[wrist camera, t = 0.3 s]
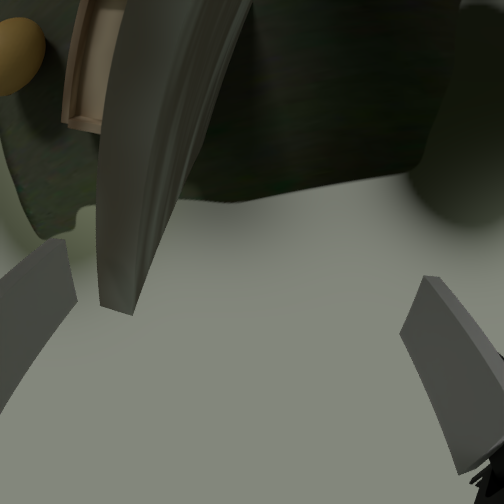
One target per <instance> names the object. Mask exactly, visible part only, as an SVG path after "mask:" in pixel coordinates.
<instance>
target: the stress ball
mask: <svg viewBox="0 0 504 504" xmlns="http://www.w3.org/2000/svg"><path fill="white" fill-rule="evenodd" d="M45 49H46V42H45V36H44V33H43V31H42V29H41V28H40V27H39V25H38V24H36V23H35V22H34V21H32V20H30V19H27V18H21V17H17V18H11V19H7V20H4V21H2V22H0V96H7V95H11V94H12V93H14V92H16V91H18V90H20V89H21V88H23V87H24V86H25V85H26V84H28V83H29V82H30V81H31V80H32V78H33V77H34V76H35V75H36V73H37V72H38V70H39V68H40V66H41V64H42V62H43V59H44V55H45Z"/></svg>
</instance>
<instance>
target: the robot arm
mask: <svg viewBox="0 0 504 504" xmlns="http://www.w3.org/2000/svg"><path fill="white" fill-rule="evenodd" d="M77 302H78V301H77V297H76V293H75V288H74V284H73V279H72V274H71V270H70V265H69V259H68V254H67V248H66V242H65V240H63V239H54V238H50V239H48V240H47V241H46V242H44V243H43V244H42V245H41V246H39V247H38V248H37V249H36V250H34V251H33V252H32V253H31V254H29V255H28V256H27V257H26V258H25V259H23V260H22V261H21V262H20V263H19V264H18V265H16V266H15V267H14V268H13V269H12V270H10V271H9V272H8V273H7V274H6V275H5V276H4V277H3V278H1V279H0V414H1V412H2V410H3V409H4V407H5V405H6V403H7V402H8V400H9V399H10V397H11V395H12V394H13V392H14V390H15V389H16V387H17V386H18V384H19V383H20V381H21V379H22V378H23V376H24V375H25V373H26V372H27V370H28V369H29V367H30V366H31V364H32V363H33V361H34V360H35V359H36V357H37V356H38V354H39V353H40V351H41V350H42V348H43V347H44V346H45V344H46V343H47V341H48V340H49V339H50V337H51V336H52V334H53V333H54V332H55V330H56V329H57V328H58V326H59V325H60V324H61V322H62V321H63V320H64V318H65V317H66V316H67V314H68V313H69V312H70V311H71V309H72V308H73V307H74V306H75V304H76V303H77ZM400 336H401V338H402V340H403V342H404V344H405V346H406V348H407V350H408V352H409V355H410V357H411V359H412V361H413V363H414V365H415V367H416V369H417V372H418V374H419V376H420V378H421V380H422V383H423V385H424V387H425V390H426V392H427V394H428V396H429V399H430V401H431V404H432V406H433V408H434V411H435V413H436V415H437V418H438V421H439V423H440V425H441V428H442V431H443V433H444V436H445V439H446V441H447V444H448V447H449V449H450V452H451V455H452V458H453V461H454V464H455V466H456V470H457V473H458V475H461V474H464V473H466V472H469V471H471V470H474V469H476V468H477V467H479V466H480V465H481V464H482V463H483V462H485V461H486V460H487V459H488V458H489V460H490V464H489V465H488V466H487V467H486V468H484V469H483V470H482V471H481V472H479V473H478V474H477V475H476V476H474V477H473V478H472V480H471V481H470V483H469V484H473V483H474V482H476V481H477V480H478V479H480V478H481V477H482V480H480V481H479V482H478V483H477V484H476V485H475V486H477V487H479V490H478V493H477V496H476V499H475V502H474V504H504V358H503V356H501V355H500V354H499V353H498V352H497V351H496V349H495V348H494V347H493V345H492V344H491V342H490V341H489V340H488V338H487V337H486V335H485V334H484V332H483V331H482V330H481V328H480V327H479V326H478V324H477V323H476V322H475V320H474V319H473V318H472V317H471V315H470V314H469V313H468V312H467V310H466V309H465V308H464V306H463V305H462V304H461V303H460V302H459V300H458V299H457V298H456V296H455V295H454V294H453V293H452V291H451V290H450V289H449V288H448V287H447V286H446V284H445V283H444V282H443V281H442V280H441V279H440V277H434V276H423V279H422V281H421V284H420V287H419V289H418V292H417V295H416V297H415V299H414V302H413V304H412V307H411V309H410V312H409V314H408V316H407V318H406V321H405V323H404V325H403V327H402V329H401V331H400Z"/></svg>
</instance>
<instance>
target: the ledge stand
mask: <svg viewBox="0 0 504 504" xmlns="http://www.w3.org/2000/svg"><path fill="white" fill-rule="evenodd" d="M252 2H253V1H252V0H81V1H80V4H79V8H78V12H77V16H76V20H75V25H74V29H73V34H72V39H71V44H70V50H69V56H68V62H67V68H66V76H65V84H64V92H63V103H62V116H61V123H67V124H68V128H72V129H77V130H82V131H87V132H92V133H97V134H100V143H99V155H98V169H97V189H96V250H97V251H96V253H97V273H98V287H99V297H100V298H99V299H100V306H103V307H106V308H109V309H112V310H115V311H118V312H122V313H125V314H128V315H132V316H133V313H134V310H135V307H136V304H137V301H138V299H139V296H140V293H141V290H142V287H143V284H144V282H145V279H146V276H147V274H148V270H149V268H150V266H151V263H152V260H153V258H154V255H155V252H156V250H157V247H158V245H159V243H160V240H161V238H162V235H163V233H164V230H165V228H166V225H167V223H168V221H169V218H170V216H171V213H172V211H173V209H174V207H175V204H176V202H177V200H178V197H179V195H180V193H181V191H182V188H183V186H184V184H185V182H186V180H187V177H188V175H189V173H190V171H191V169H192V167H193V165H194V162H195V160H196V158H197V156H198V154H199V152H200V150H201V148H202V146H203V142H204V139H205V135H206V132H207V129H208V125H209V122H210V119H211V116H212V113H213V109H214V106H215V103H216V100H217V97H218V94H219V91H220V88H221V85H222V82H223V79H224V76H225V73H226V70H227V67H228V65H229V62H230V59H231V56H232V53H233V51H234V48H235V45H236V43H237V40H238V37H239V35H240V32H241V29H242V27H243V24H244V22H245V19H246V17H247V14H248V12H249V9H250V7H251V4H252Z"/></svg>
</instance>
